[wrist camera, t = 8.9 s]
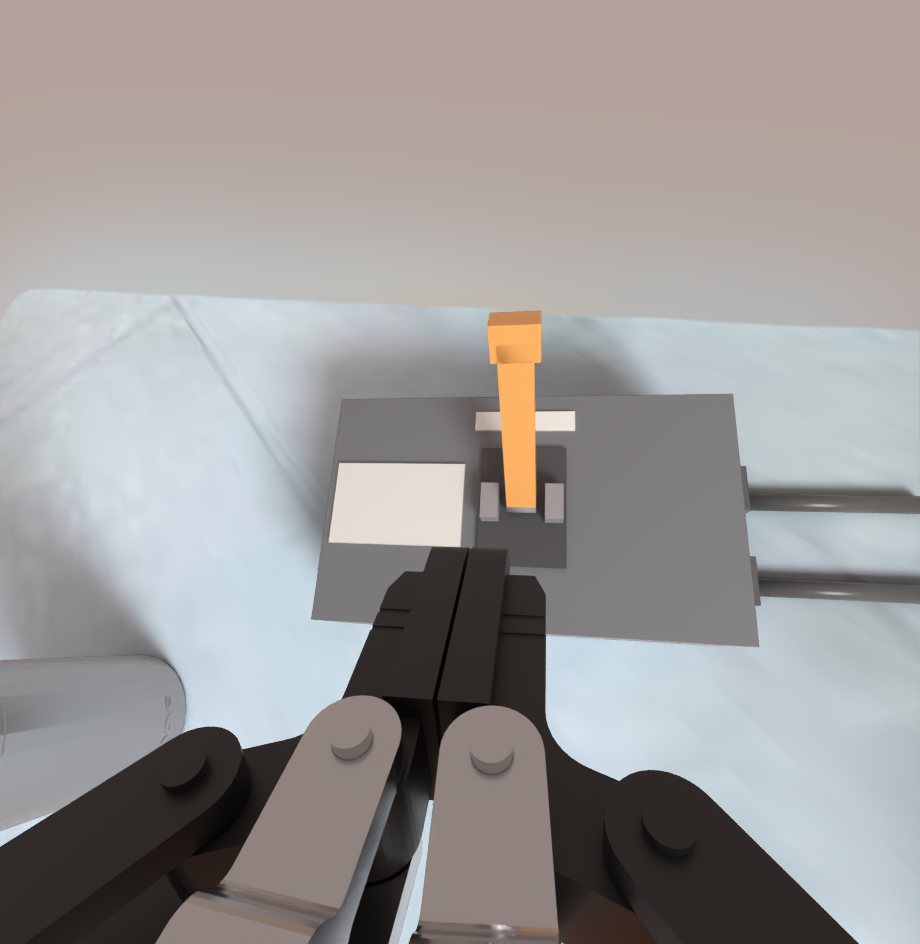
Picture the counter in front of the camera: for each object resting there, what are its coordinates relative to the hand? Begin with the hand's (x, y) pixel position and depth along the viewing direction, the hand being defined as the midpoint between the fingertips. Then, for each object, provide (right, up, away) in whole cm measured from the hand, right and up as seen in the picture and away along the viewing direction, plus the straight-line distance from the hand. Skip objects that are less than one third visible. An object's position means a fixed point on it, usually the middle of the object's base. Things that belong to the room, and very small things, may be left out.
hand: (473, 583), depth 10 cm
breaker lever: (+3, +1, +19) cm, 19 cm away
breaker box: (+12, -3, +28) cm, 31 cm away
